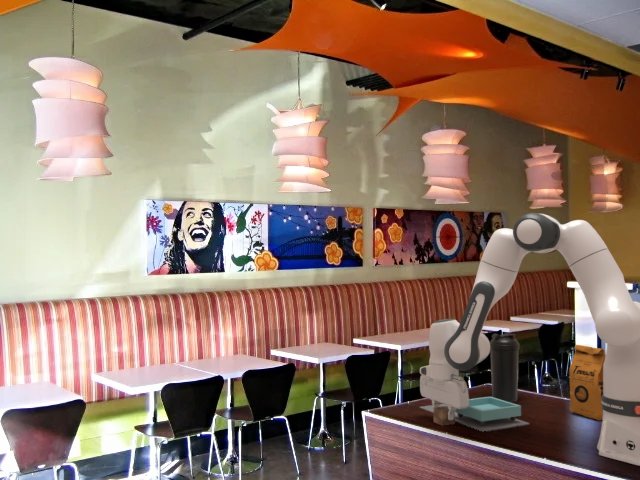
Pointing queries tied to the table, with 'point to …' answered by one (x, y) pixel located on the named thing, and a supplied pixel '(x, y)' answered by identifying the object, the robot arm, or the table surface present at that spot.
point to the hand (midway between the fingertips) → (444, 417)
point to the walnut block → (442, 416)
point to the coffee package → (587, 381)
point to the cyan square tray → (489, 409)
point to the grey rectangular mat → (489, 424)
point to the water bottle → (504, 366)
